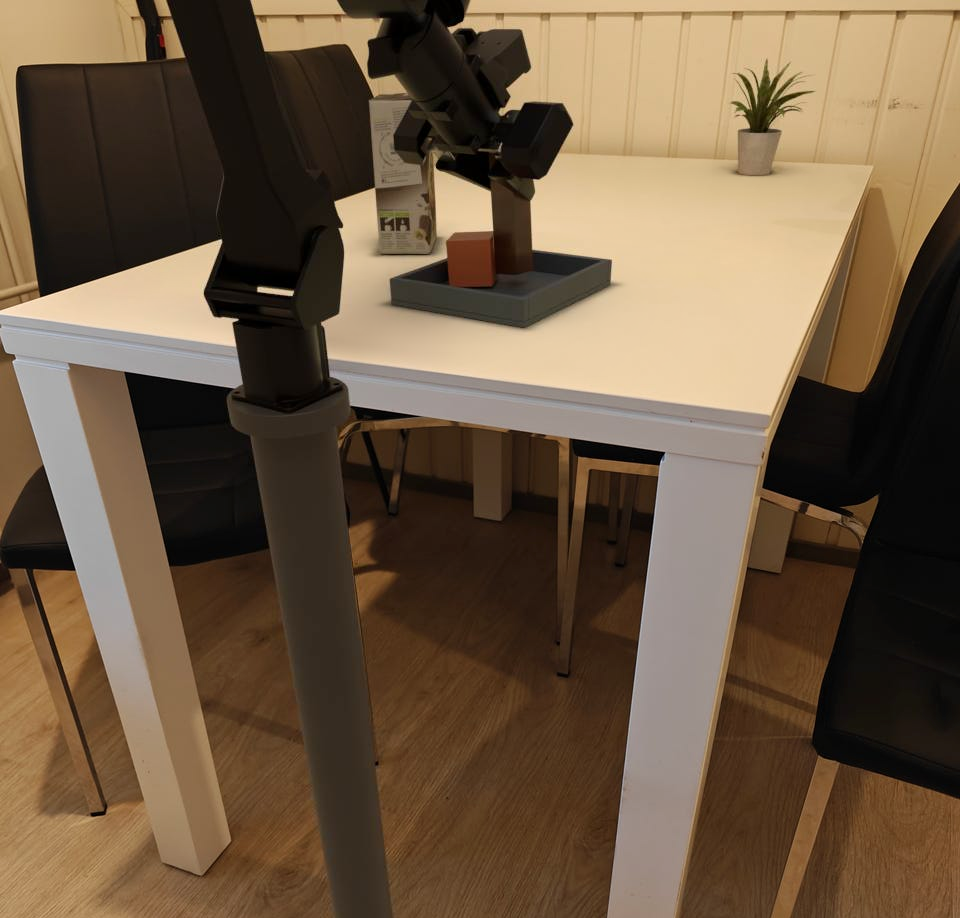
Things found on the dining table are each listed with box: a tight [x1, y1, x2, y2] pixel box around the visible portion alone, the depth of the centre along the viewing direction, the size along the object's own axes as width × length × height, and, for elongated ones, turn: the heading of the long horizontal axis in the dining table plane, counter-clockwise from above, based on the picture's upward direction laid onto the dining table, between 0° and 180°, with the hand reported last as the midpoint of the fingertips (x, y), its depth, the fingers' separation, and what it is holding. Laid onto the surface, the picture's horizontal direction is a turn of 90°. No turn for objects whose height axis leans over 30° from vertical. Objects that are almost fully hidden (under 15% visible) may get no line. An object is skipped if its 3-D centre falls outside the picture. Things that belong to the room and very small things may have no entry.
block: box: [445, 230, 499, 287], centre depth 94 cm, size 4×4×4 cm
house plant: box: [729, 58, 816, 176], centre depth 147 cm, size 14×14×16 cm
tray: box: [389, 249, 613, 328], centre depth 93 cm, size 18×16×2 cm
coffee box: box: [368, 92, 438, 255], centre depth 107 cm, size 9×6×16 cm
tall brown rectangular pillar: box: [489, 152, 533, 275], centre depth 90 cm, size 3×3×14 cm
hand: (519, 194), depth 91 cm, fingers closed on tall brown rectangular pillar, 3 cm apart
